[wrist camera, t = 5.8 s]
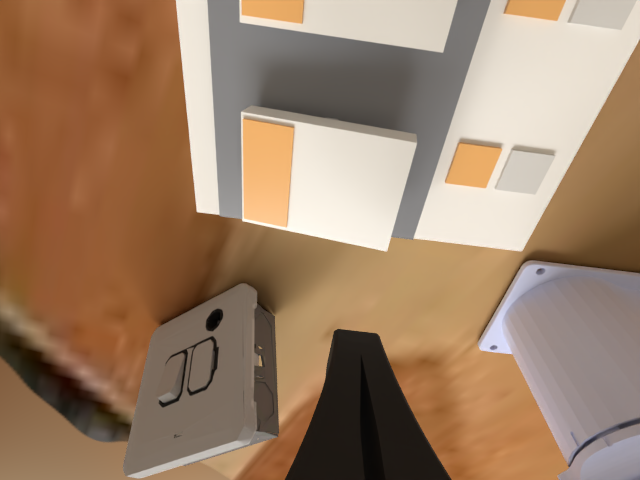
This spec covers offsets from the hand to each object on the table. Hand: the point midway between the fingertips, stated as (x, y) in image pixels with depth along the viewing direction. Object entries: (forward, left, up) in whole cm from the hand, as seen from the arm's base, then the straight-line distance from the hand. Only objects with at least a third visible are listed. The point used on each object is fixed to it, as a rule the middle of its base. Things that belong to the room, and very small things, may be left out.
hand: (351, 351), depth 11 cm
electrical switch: (+7, +11, -10) cm, 16 cm away
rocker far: (+2, -4, -5) cm, 7 cm away
